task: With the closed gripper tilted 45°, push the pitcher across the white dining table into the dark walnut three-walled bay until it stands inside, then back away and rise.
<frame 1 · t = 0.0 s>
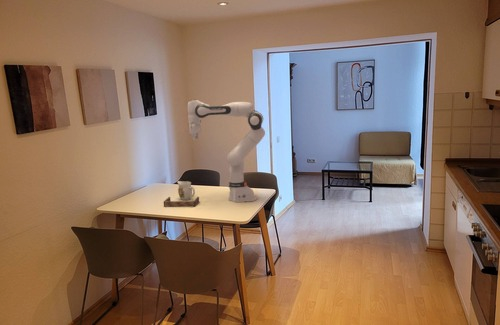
hand: (195, 139, 294), 48 cm above the table, tool pointing down, fingers open, 8 cm apart
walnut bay: (182, 204, 291), on the table
pitcher: (186, 199, 304), on the table
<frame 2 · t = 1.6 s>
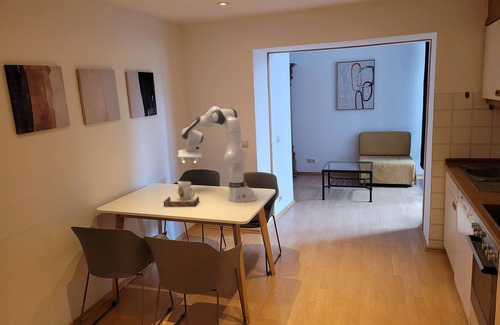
hand: (189, 163, 315), 26 cm above the table, tool tilted 45°, fingers open, 8 cm apart
nothing on the table moved.
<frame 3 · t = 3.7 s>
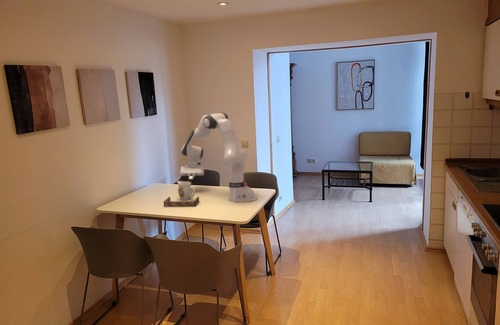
hand: (190, 179, 318), 13 cm above the table, tool tilted 45°, fingers closed
nothing on the table moved.
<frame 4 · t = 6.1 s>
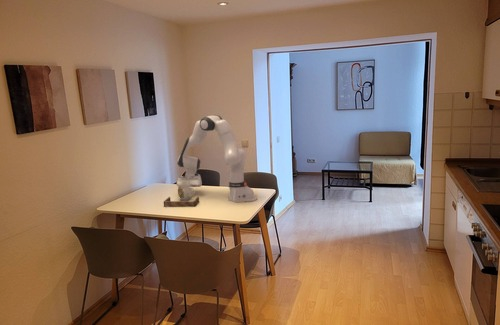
hand: (188, 191, 308), 5 cm above the table, tool tilted 45°, fingers closed
pitcher: (186, 199, 303), on the table, touching gripper
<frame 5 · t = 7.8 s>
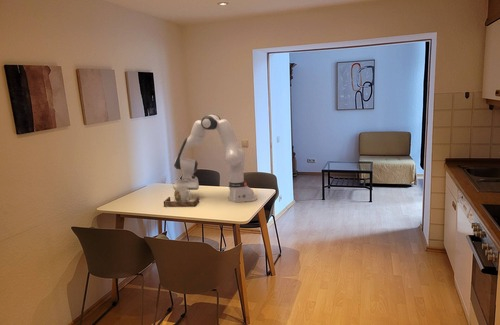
hand: (184, 194, 299), 5 cm above the table, tool tilted 45°, fingers closed, pressing on pitcher
pitcher: (183, 203, 294), on the table, touching gripper
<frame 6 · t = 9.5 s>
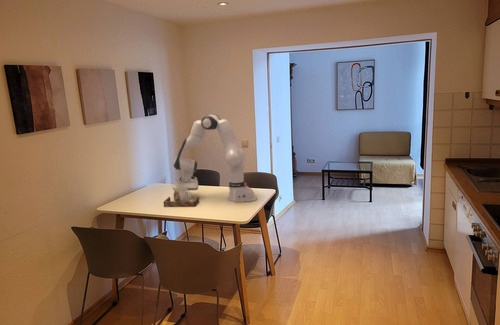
hand: (184, 194, 298), 5 cm above the table, tool tilted 45°, fingers closed
pitcher: (182, 204, 292), on the table
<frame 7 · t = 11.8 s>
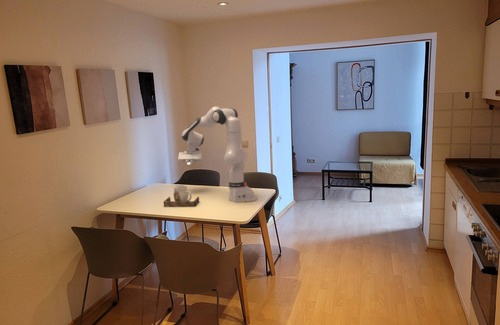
hand: (188, 165, 312), 25 cm above the table, tool tilted 45°, fingers closed
nothing on the table moved.
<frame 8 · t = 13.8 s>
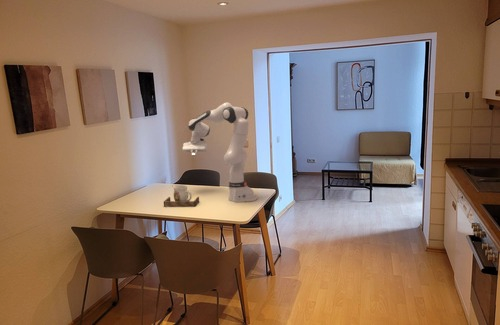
hand: (193, 155, 308), 33 cm above the table, tool tilted 45°, fingers closed
nothing on the table moved.
at the end: pitcher inside the target area (0.3 cm from its centre), on the table; pitcher tilted 0°; pitcher moved 12.7 cm from its start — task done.
